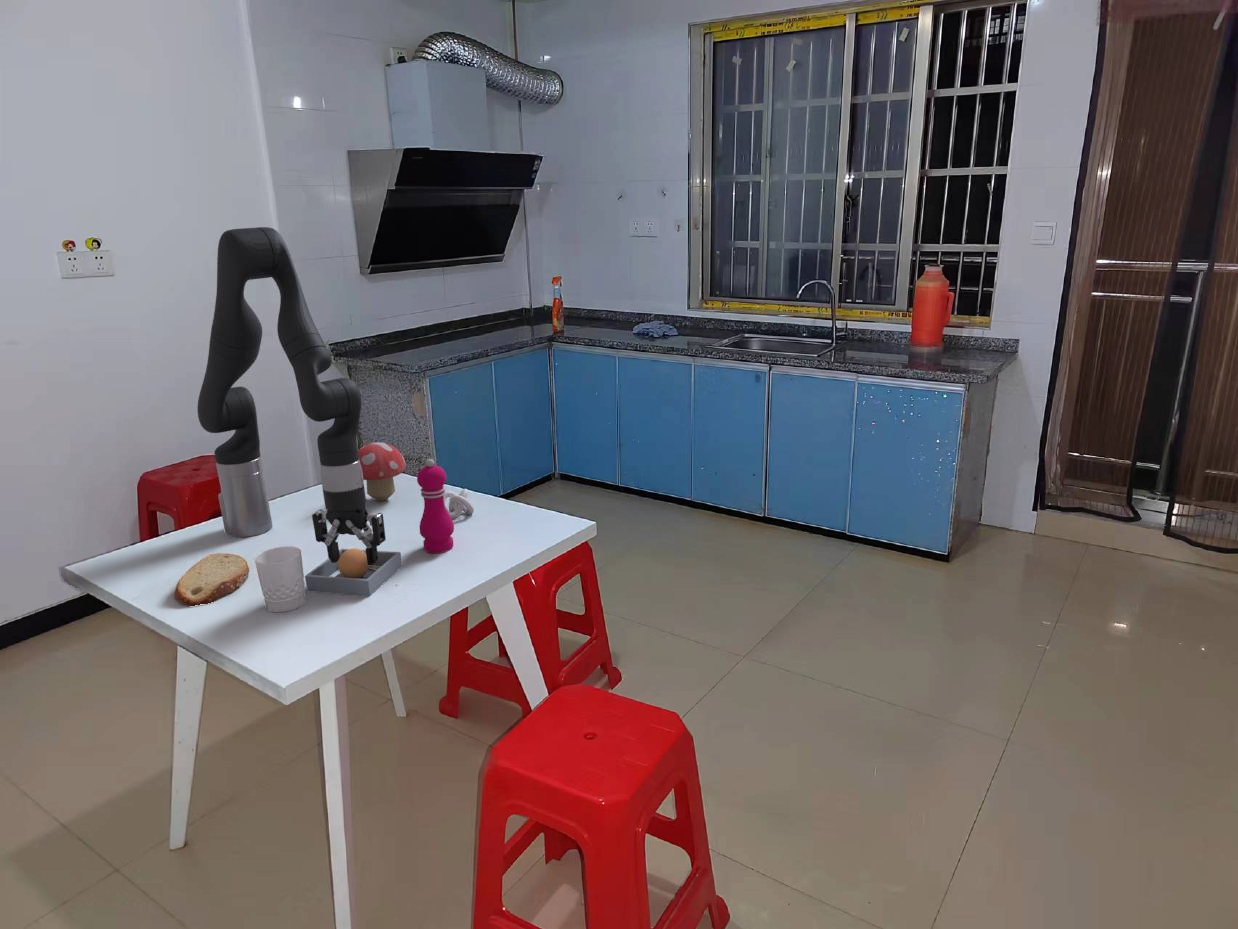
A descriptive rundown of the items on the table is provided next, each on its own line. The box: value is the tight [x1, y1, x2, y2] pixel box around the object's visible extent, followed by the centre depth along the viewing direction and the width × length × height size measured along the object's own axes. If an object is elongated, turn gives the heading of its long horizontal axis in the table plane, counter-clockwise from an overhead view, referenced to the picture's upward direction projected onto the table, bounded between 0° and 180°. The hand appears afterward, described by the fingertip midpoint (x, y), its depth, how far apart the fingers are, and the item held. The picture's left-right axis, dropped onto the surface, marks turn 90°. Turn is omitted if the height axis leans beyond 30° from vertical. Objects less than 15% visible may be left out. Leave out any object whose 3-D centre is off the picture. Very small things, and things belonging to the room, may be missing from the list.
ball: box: [338, 548, 371, 578], centre depth 155 cm, size 6×6×6 cm
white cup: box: [253, 545, 306, 613], centre depth 145 cm, size 8×8×10 cm
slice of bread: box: [173, 552, 250, 607], centre depth 156 cm, size 18×18×4 cm
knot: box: [444, 488, 474, 520], centre depth 188 cm, size 8×8×6 cm
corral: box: [304, 547, 403, 597], centre depth 156 cm, size 13×13×3 cm
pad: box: [334, 567, 378, 579], centre depth 156 cm, size 9×9×1 cm
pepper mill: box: [416, 458, 455, 554], centre depth 167 cm, size 7×7×20 cm
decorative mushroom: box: [358, 441, 407, 502], centre depth 197 cm, size 13×13×15 cm
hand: (353, 562), depth 155 cm, fingers open, 7 cm apart
